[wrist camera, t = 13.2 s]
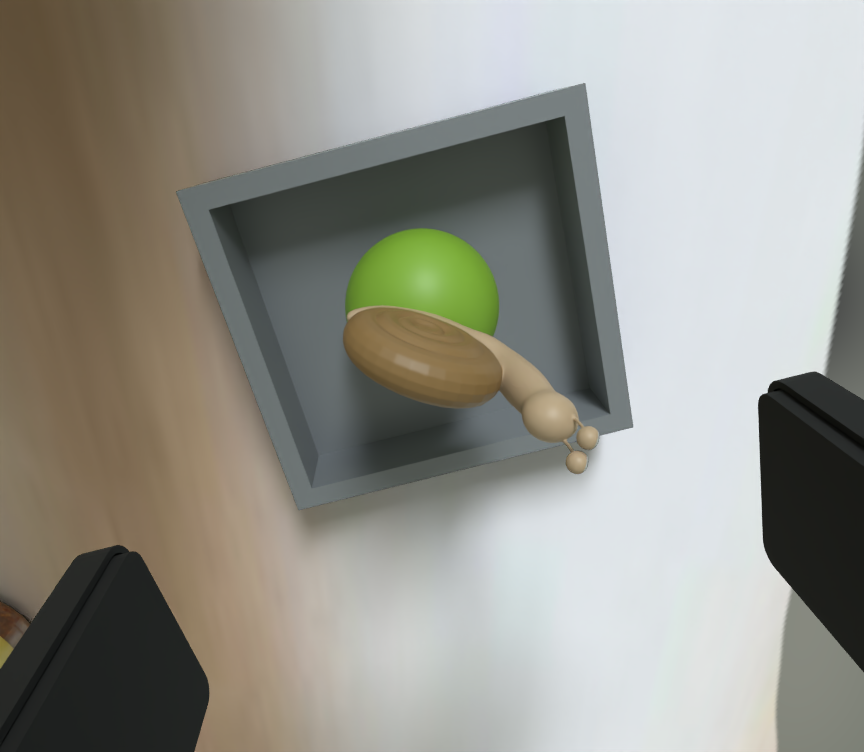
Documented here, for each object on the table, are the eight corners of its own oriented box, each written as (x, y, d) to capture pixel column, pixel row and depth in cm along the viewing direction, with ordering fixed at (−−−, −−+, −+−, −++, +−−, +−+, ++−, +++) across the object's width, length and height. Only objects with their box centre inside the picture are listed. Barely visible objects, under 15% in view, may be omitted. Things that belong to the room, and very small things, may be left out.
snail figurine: (484, 374, 26) (554, 554, 15) (334, 333, 25) (291, 493, 14) (530, 250, 25) (646, 350, 14) (370, 199, 24) (354, 263, 12)
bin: (204, 182, 24) (176, 191, 21) (557, 89, 23) (585, 83, 20) (308, 466, 28) (298, 510, 25) (604, 392, 28) (633, 427, 25)
